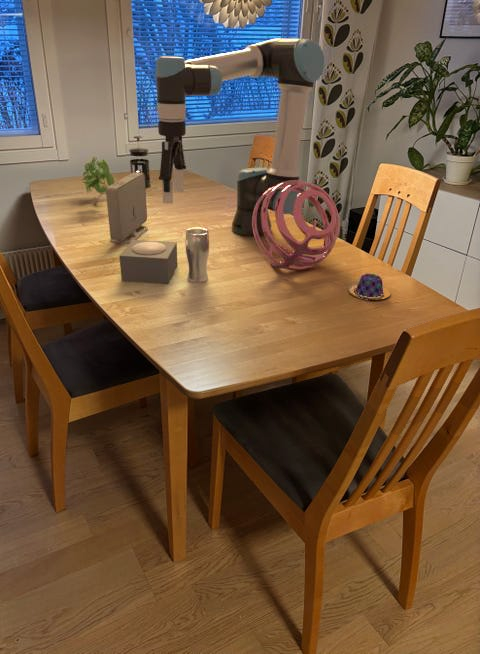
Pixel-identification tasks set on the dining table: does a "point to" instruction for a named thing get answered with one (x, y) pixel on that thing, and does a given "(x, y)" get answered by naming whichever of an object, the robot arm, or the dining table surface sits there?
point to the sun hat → (369, 286)
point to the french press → (144, 163)
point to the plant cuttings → (97, 177)
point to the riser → (149, 261)
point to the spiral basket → (310, 232)
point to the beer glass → (197, 254)
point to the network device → (127, 207)
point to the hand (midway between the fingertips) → (173, 197)
